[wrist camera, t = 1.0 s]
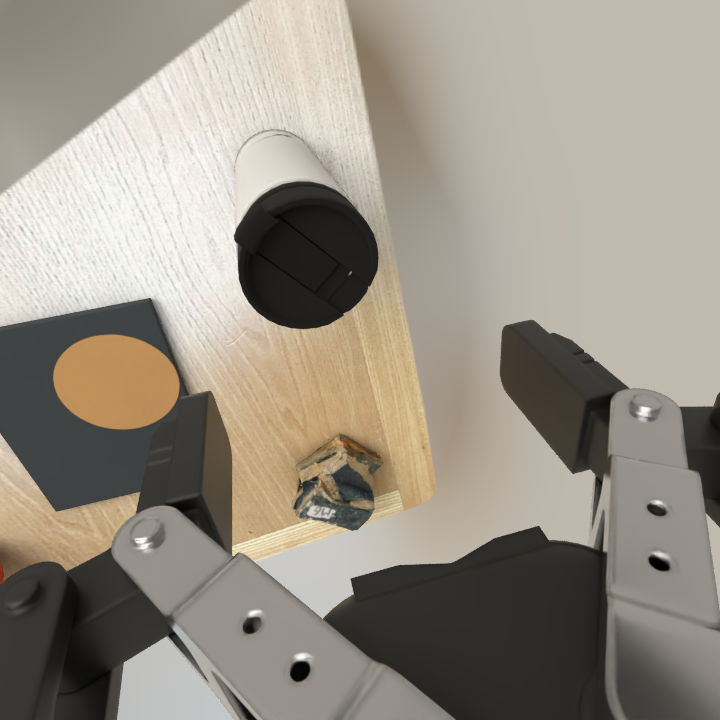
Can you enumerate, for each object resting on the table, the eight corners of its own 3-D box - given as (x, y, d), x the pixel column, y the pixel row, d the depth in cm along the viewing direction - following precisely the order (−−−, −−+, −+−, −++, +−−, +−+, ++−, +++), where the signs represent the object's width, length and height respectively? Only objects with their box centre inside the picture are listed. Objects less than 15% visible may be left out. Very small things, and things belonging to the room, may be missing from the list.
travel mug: (264, 105, 34) (295, 156, 18) (333, 169, 37) (413, 261, 21) (213, 176, 36) (197, 282, 19) (284, 231, 39) (321, 362, 23)
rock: (383, 447, 55) (397, 484, 50) (340, 503, 58) (350, 542, 53) (318, 424, 51) (327, 462, 46) (276, 485, 54) (280, 526, 49)
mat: (-60, 337, 38) (-65, 343, 37) (150, 297, 40) (148, 302, 39) (58, 505, 49) (55, 512, 48) (217, 467, 51) (217, 473, 50)
